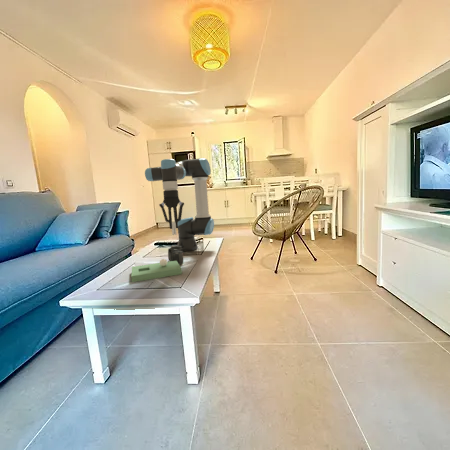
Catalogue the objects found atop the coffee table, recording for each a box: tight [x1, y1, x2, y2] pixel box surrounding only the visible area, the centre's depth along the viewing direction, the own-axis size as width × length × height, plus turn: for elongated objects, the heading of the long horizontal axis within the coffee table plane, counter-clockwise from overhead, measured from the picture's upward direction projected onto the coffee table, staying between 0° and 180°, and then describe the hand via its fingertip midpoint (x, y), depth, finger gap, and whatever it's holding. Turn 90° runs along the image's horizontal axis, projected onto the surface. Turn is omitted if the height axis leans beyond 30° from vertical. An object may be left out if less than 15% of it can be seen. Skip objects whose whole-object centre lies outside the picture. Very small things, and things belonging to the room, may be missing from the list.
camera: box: [167, 245, 185, 265], centre depth 148 cm, size 13×10×10 cm
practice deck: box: [131, 260, 183, 283], centre depth 128 cm, size 24×17×3 cm
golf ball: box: [159, 258, 168, 267], centre depth 129 cm, size 4×4×4 cm
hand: (174, 234), depth 130 cm, fingers closed
